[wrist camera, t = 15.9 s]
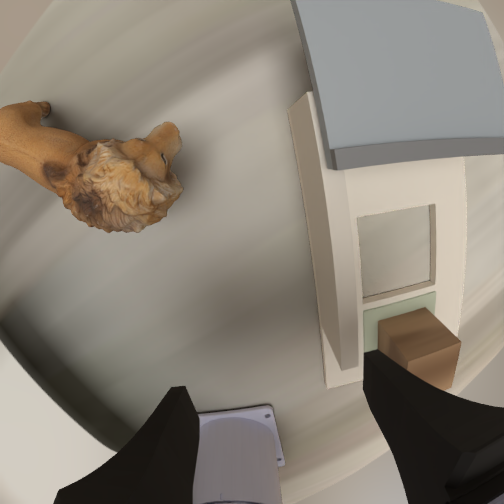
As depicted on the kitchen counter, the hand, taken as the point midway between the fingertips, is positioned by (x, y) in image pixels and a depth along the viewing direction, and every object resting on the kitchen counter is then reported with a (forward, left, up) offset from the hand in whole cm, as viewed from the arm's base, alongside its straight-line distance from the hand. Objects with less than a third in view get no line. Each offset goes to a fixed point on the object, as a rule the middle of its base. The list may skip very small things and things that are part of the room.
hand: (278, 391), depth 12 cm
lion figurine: (+11, +8, -10) cm, 17 cm away
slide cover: (+12, -9, -3) cm, 15 cm away
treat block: (-6, -10, -8) cm, 14 cm away
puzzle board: (+1, -10, -9) cm, 13 cm away
